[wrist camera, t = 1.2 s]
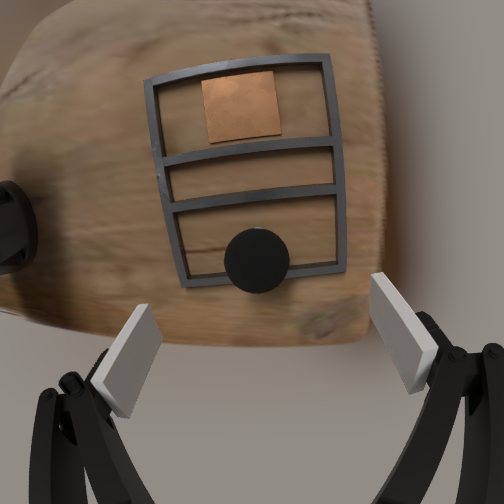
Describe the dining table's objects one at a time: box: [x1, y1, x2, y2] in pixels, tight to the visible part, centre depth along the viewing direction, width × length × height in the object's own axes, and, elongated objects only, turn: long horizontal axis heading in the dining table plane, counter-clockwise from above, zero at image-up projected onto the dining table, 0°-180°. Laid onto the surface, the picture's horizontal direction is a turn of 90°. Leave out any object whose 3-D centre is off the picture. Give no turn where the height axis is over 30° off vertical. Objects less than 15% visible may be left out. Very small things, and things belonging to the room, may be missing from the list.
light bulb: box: [224, 228, 289, 293], centre depth 27 cm, size 6×6×10 cm
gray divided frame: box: [143, 54, 347, 288], centre depth 28 cm, size 20×25×1 cm
